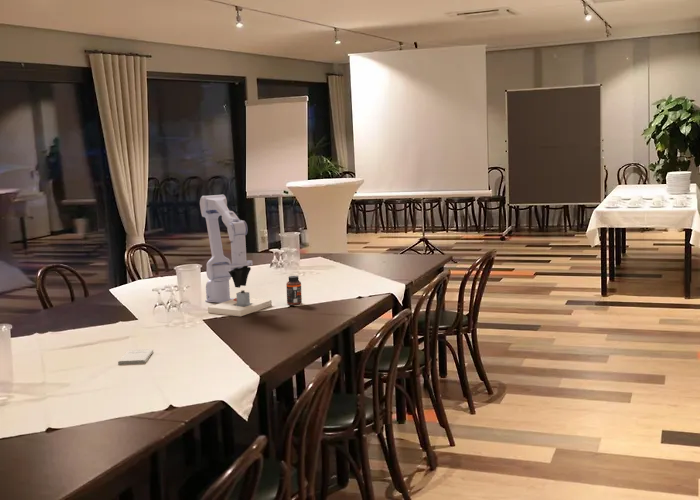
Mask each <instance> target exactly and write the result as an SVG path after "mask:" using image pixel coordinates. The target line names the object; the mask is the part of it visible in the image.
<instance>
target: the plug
mask: <svg viewBox="0 0 700 500" xmlns="http://www.w3.org/2000/svg"><path fill="white" fill-rule="evenodd" d="M236 298H237V306H241V307H246V306H249V305H250V298H251V297H250V292H249V291H248V292H247V291H245V290H243V289H242V290H240V291H239V292H236Z"/></svg>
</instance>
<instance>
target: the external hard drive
mask: <svg viewBox="0 0 700 500" xmlns="http://www.w3.org/2000/svg"><path fill="white" fill-rule="evenodd" d="M151 354H152V355H153V354H154V349H151V348H149V349H129V350H127V351H126V352H125V353H124V354H123V355H122V357H120V359H119V360H118V361H117V364H118V365H120V366H121V365H139V364H138V363H143V364H146V363H147V362H148V361H149V359H150V358H151V356H152V355H151ZM150 355H151V356H150ZM149 357H150V358H149ZM148 358H149V359H148ZM146 361H147V362H146ZM145 362H146V363H145Z"/></svg>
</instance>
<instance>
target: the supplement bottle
mask: <svg viewBox="0 0 700 500" xmlns="http://www.w3.org/2000/svg"><path fill="white" fill-rule="evenodd" d="M285 287H286V303H287V305H289V306H298V305H301V304H302V303H303V301H302V300H303V298H302V282H301V281H300V279H299V275H289V276H288V281H286V286H285Z"/></svg>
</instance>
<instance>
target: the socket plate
mask: <svg viewBox="0 0 700 500" xmlns="http://www.w3.org/2000/svg"><path fill="white" fill-rule="evenodd" d="M268 307H272V299H265V298H264V299H263V298H253V297H250V305H249V306H246V307H241V306H237V297H235V298H234V299H232V300H229V301H226V302H222V303H216V304H213V305H210V306H207V313H208V314H217V315H218V314H219V315H226V316H232V317H233V316H234V317H242V316H246V315H249V314H252V313H254V312H257V311H260V310H263V309H266V308H268Z"/></svg>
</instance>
